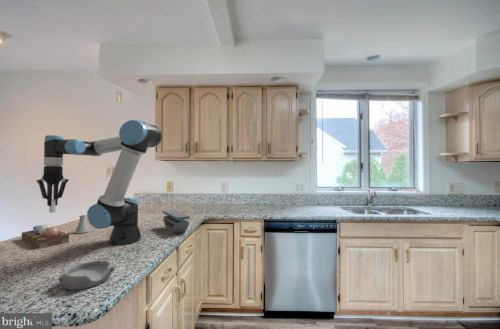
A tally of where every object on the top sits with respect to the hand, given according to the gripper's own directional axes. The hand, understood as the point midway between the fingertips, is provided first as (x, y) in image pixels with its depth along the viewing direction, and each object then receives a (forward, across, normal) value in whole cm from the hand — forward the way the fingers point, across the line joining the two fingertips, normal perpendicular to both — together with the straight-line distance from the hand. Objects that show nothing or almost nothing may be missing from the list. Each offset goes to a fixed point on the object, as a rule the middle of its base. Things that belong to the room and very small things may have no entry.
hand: (52, 212), depth 124 cm
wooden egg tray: (+16, 0, -8) cm, 18 cm away
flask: (+16, -19, -11) cm, 27 cm away
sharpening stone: (+16, -53, +31) cm, 64 cm away
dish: (+17, +10, +58) cm, 61 cm away
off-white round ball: (+13, 0, -8) cm, 15 cm away
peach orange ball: (+13, 0, 0) cm, 13 cm away
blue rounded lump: (+14, 0, -16) cm, 21 cm away
